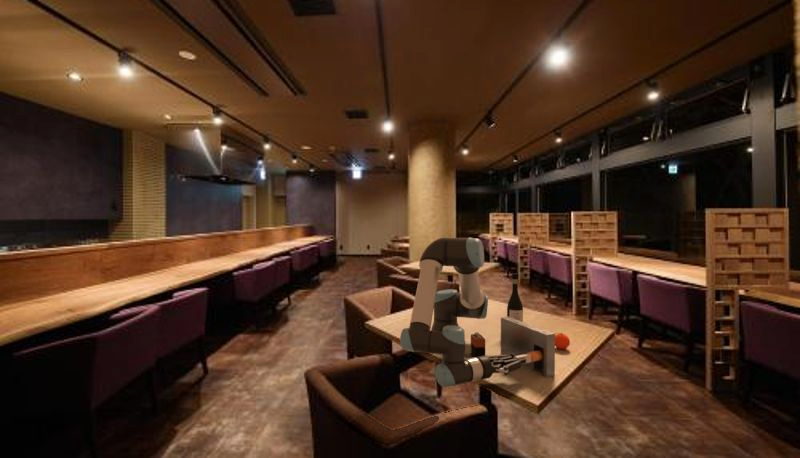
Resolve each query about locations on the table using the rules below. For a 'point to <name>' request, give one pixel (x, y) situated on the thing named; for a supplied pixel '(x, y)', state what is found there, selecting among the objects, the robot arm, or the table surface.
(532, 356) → the orange rounded cylinder
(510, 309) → the wine bottle
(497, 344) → the table surface
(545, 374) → the panel
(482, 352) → the battery
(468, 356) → the mat
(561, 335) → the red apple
